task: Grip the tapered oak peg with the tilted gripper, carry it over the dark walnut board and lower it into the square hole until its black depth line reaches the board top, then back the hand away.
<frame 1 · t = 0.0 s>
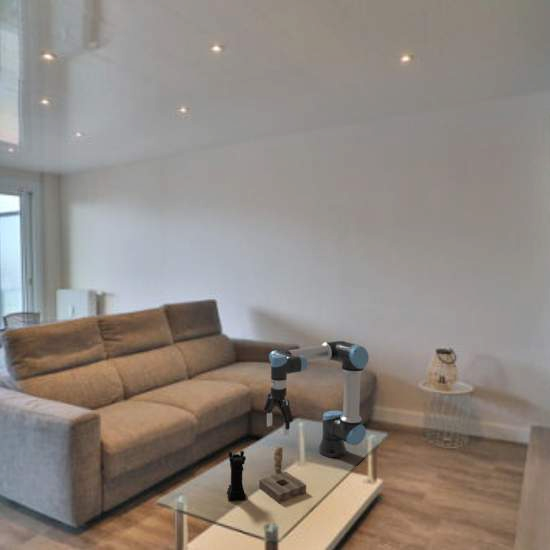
hand: (277, 430, 230), 28 cm above the table, tool pointing down, fingers open, 13 cm apart
walnut board: (282, 490, 229), on the table
oak peg: (277, 472, 247), on the table
chess piece: (236, 496, 223), on the table
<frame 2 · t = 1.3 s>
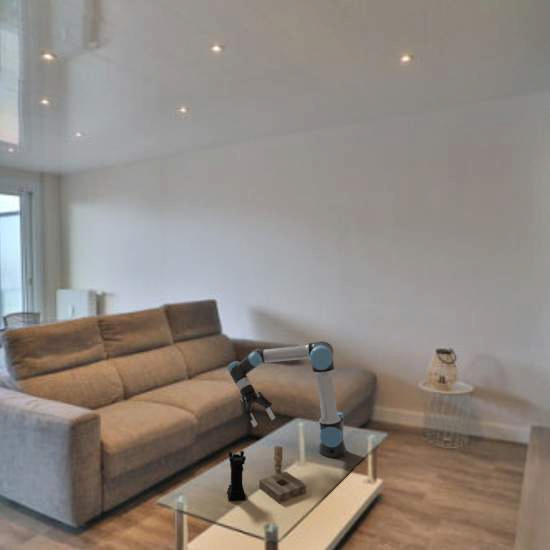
hand: (264, 422, 252), 24 cm above the table, tool tilted 45°, fingers open, 13 cm apart
nothing on the table moved.
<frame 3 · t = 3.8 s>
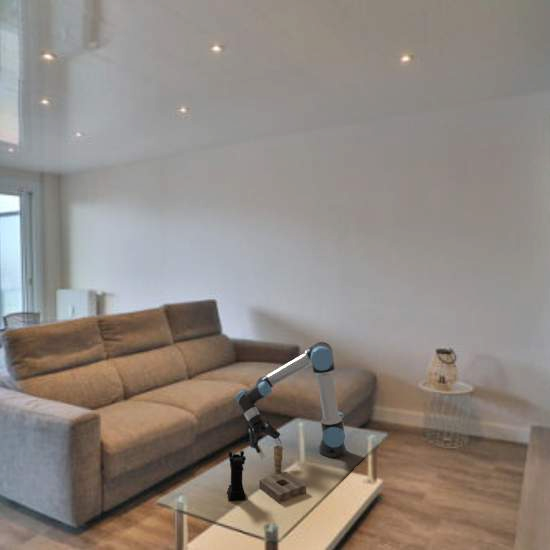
hand: (273, 454, 248), 9 cm above the table, tool tilted 45°, fingers open, 13 cm apart
nothing on the table moved.
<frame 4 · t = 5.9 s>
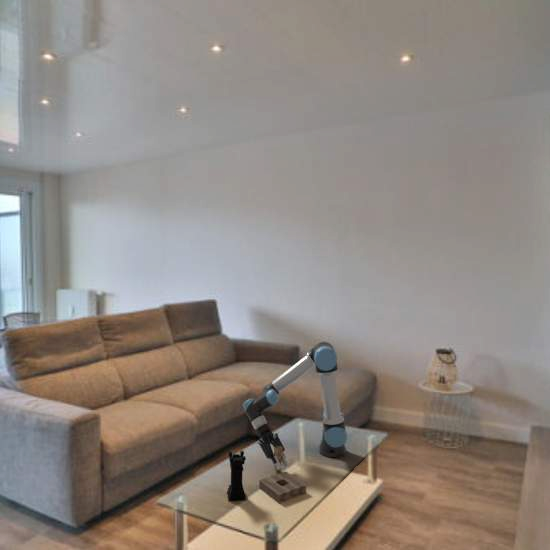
hand: (283, 467, 244), 4 cm above the table, tool tilted 45°, fingers closed on oak peg, 4 cm apart
oak peg: (277, 472, 247), on the table, touching gripper
everything else where it was.
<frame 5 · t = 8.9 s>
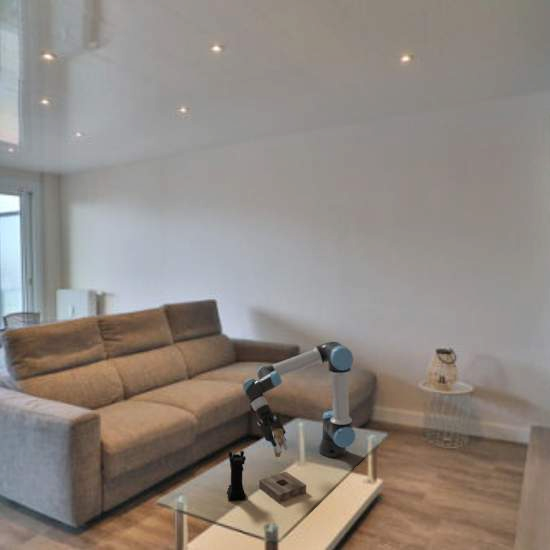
hand: (283, 450, 231), 18 cm above the table, tool tilted 45°, fingers closed on oak peg, 4 cm apart
oak peg: (277, 455, 234), point 14 cm above the table, touching gripper
everything else where it was.
when the fingers open (6 cm above the table, at t = 11.9 s): oak peg drops 1 cm, resting in walnut board.
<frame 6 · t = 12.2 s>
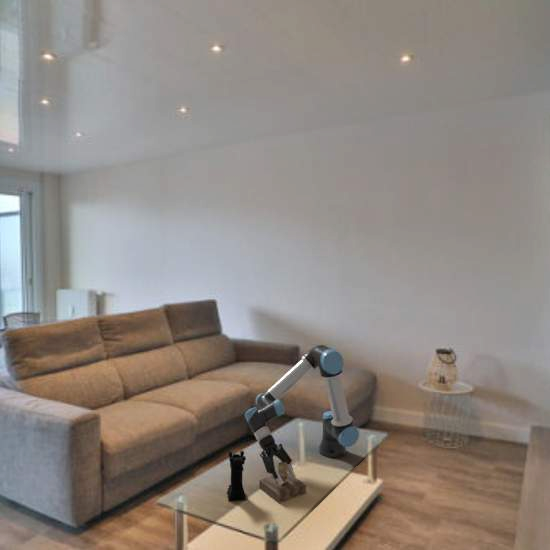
hand: (287, 481, 226), 6 cm above the table, tool tilted 45°, fingers open, 8 cm apart
oak peg: (282, 490, 229), resting in walnut board
everything else where it was.
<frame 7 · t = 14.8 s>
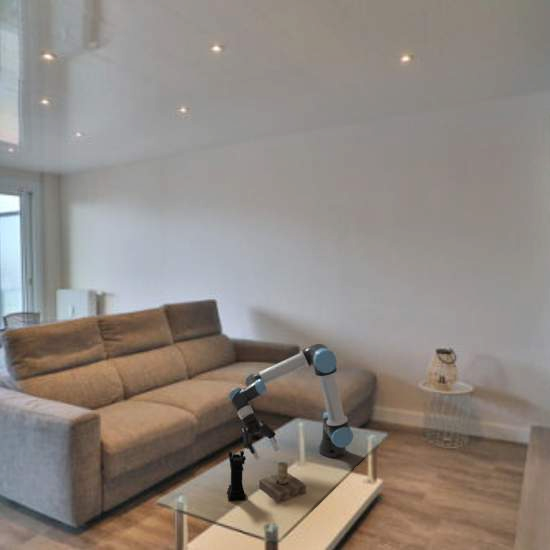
hand: (268, 454, 235), 14 cm above the table, tool tilted 45°, fingers open, 13 cm apart
nothing on the table moved.
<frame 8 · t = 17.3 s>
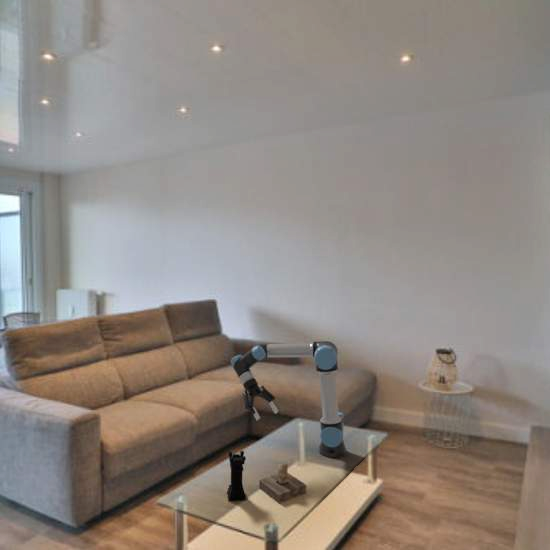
hand: (267, 415, 250), 28 cm above the table, tool tilted 45°, fingers open, 13 cm apart
nothing on the table moved.
at the end: oak peg 0.1 cm off-centre on the walnut board, point 0.0 cm above the walnut board's base; oak peg tilted 0°; the gripper is holding nothing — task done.
